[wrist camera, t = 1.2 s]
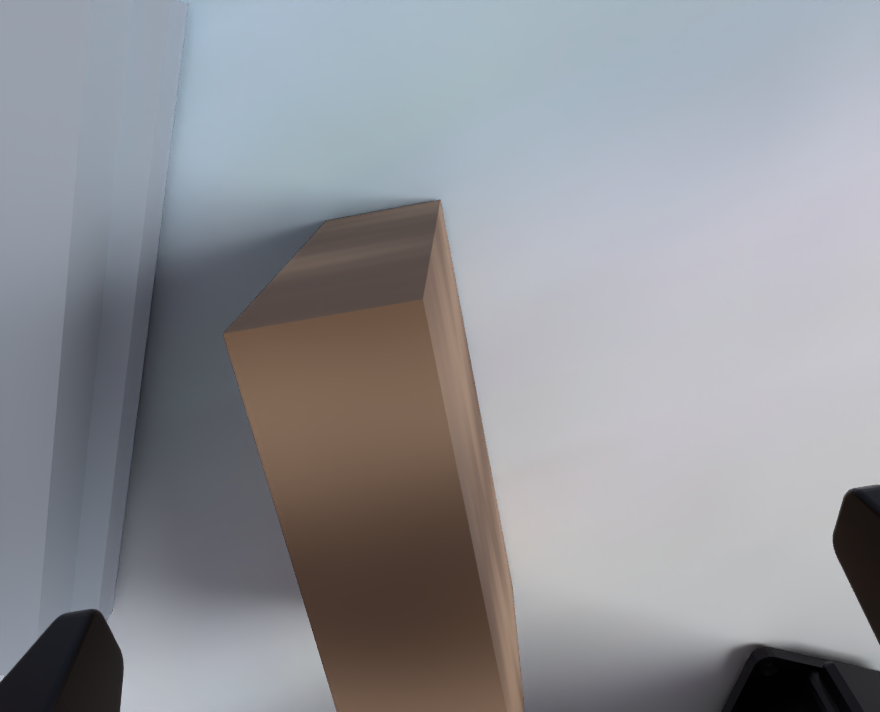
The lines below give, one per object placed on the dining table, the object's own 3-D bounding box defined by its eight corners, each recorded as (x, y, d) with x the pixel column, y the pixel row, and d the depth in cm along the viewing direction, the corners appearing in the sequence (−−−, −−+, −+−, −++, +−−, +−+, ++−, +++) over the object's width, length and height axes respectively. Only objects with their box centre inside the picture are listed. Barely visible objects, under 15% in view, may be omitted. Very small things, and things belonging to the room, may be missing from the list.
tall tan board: (512, 587, 23) (540, 876, 15) (415, 600, 24) (389, 892, 15) (440, 199, 19) (422, 299, 11) (323, 221, 20) (219, 334, 11)
